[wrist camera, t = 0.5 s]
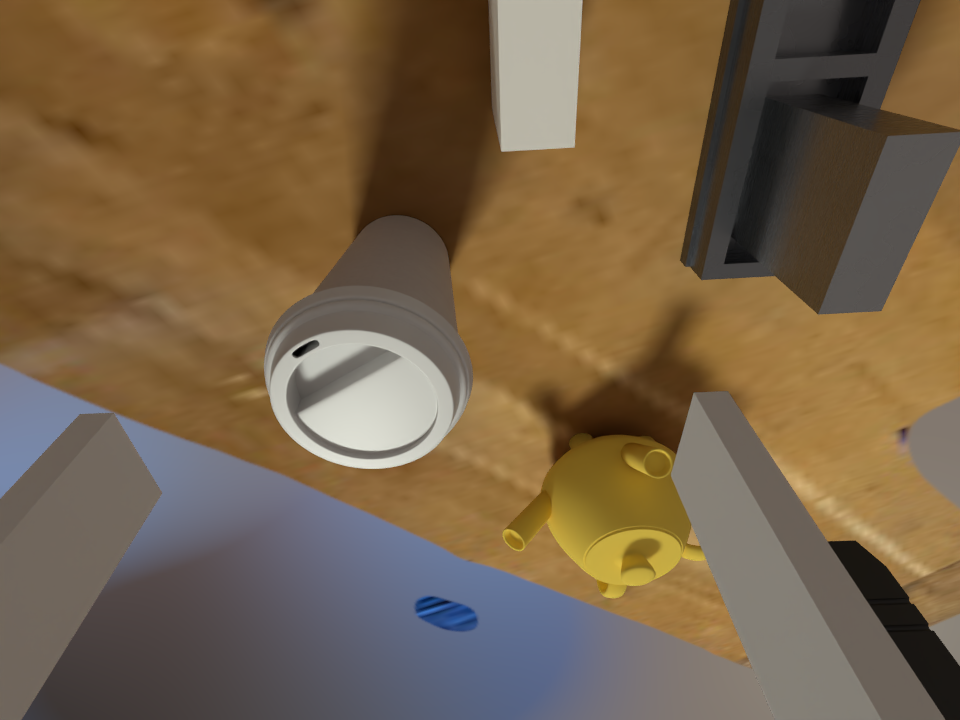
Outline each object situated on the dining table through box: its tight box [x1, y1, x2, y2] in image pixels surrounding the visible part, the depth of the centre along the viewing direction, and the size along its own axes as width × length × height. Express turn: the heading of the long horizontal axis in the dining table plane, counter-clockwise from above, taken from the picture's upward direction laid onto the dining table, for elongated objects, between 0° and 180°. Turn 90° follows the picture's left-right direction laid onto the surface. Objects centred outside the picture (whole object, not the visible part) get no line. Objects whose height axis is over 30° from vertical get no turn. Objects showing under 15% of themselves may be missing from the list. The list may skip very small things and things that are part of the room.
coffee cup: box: [264, 215, 473, 469], centre depth 28 cm, size 10×10×15 cm
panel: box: [488, 0, 583, 152], centre depth 22 cm, size 8×3×10 cm, turn 3°
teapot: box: [503, 433, 706, 598], centre depth 41 cm, size 14×14×11 cm
